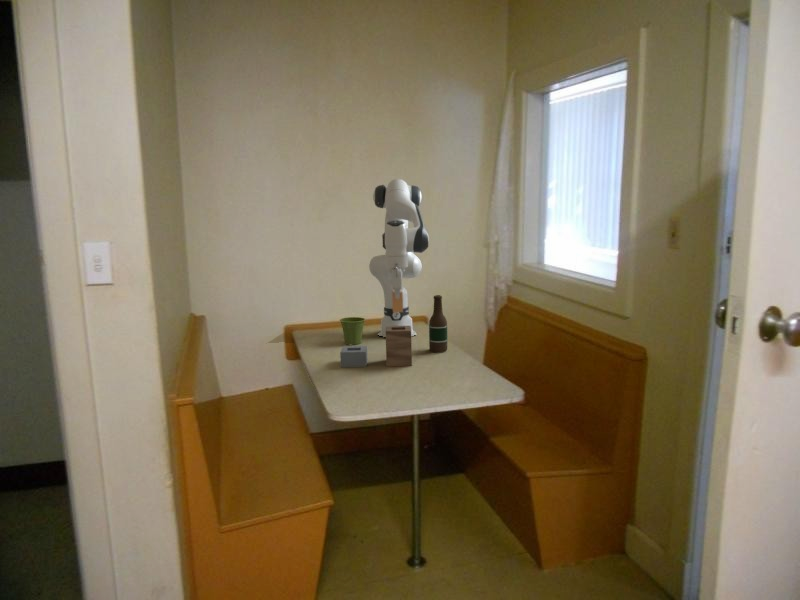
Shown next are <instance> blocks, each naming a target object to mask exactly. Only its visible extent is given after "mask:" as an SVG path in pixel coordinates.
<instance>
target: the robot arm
mask: <svg viewBox="0 0 800 600" xmlns="http://www.w3.org/2000/svg"><path fill="white" fill-rule="evenodd" d="M372 199H373V202H374V205H375V206H376V208H380V209H385V210H386V212H385V215H384V216H385V217H384V233H382V235H381V237H382V248H383V249H384V250H385V253H384V254H380V255H376V256H373V257H371V259H370V260H369V261H370V262H369V265H368V268H369V272H370V273H371V275H372V276H373V277H375V278H376V280H377V281H378V282H379V284H380V286H381V287H382V291H383V299H384V306H383V317H382V318H381V319H380V325H381V326H380V331H379V332H378V333H377V335H379V336H384V337H386V326H411V337H415V336H414V335H416V336H417V332H416V331H415V330H414V329H413V318H412V317H411V316H410V315H409V314H410V307H409V304H408V302H409V301H408V300H409V299H408V293H409V292H408V290H407V289H406V288H405V287H404V286H403V282H402V281H403V279H414V278H417V277H418V276H419V275H420V274H421V273H422V268H423V267H422V266H423V265H422V261H421V259H420V258H419V257H418V256H417V255H416V254H415V253H419V254H422V253H424V252H425V251H426V250H427V249H428V248H429V245H430V235H429V233H428V232H427V228H426V226H425V223H424V220H423V217H422V216H423V215H422V214H421V210H420V208H419V206H420V204H421V202H422V199H423V195H422V192H421V189H420V187H419V186H416V185H408V183H407V182H406V181H405V180H403V179H401V178H395V179H391V181H389V182H388V184H386V185H385V184H380V185H377V186H376V187H375V189H374V191H373V194H372ZM409 222H411V223H412V224H413V227H409ZM392 291H395V298H396V299H399V298H400V291H402V292H403V312H393V300H392ZM379 336H378V337H379ZM384 337H383V338H384Z"/></svg>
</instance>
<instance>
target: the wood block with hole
mask: <svg viewBox="0 0 800 600" xmlns="http://www.w3.org/2000/svg"><path fill="white" fill-rule="evenodd" d="M412 348H413V347H412V336H411V326H386V338H385V354H386V355H385V357H386V358H385V359H386V367H404V366H405V367H410V366H411V367H412V366H413V360H412V359H413V357H412V355H413V353H412Z"/></svg>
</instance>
